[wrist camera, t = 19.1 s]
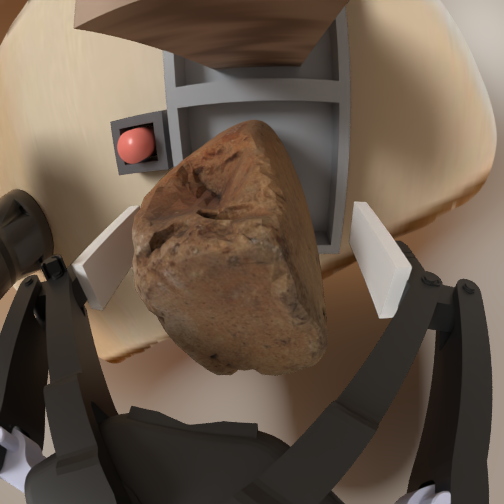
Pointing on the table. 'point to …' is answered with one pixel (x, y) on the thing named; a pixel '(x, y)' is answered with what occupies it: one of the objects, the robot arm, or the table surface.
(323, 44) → the gray divided tray
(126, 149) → the button
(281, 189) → the block
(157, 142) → the button housing
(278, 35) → the seated billet
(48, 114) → the table surface
